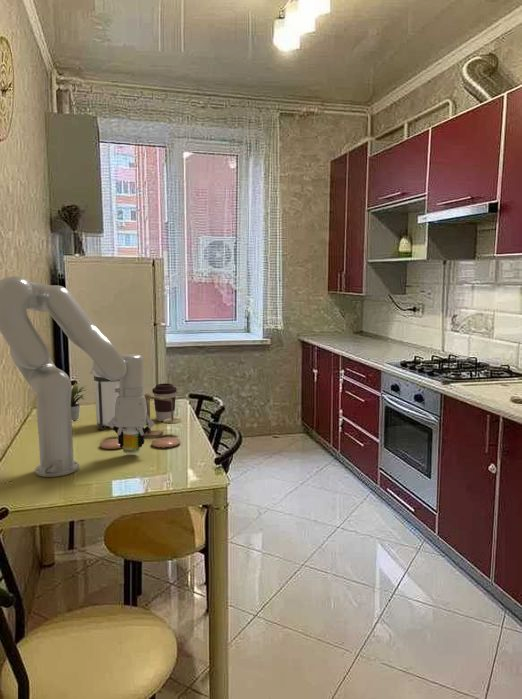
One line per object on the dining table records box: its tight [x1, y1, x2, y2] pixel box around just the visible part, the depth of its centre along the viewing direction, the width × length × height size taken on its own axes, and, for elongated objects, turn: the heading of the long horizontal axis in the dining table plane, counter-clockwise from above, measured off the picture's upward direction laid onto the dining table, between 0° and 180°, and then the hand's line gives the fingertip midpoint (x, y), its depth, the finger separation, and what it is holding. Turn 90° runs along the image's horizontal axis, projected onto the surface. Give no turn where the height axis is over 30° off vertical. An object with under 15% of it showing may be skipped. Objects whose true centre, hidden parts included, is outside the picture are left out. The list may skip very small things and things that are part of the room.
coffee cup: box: [151, 382, 177, 422], centre depth 221 cm, size 10×10×15 cm
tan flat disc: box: [151, 436, 182, 449], centre depth 187 cm, size 10×10×1 cm
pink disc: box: [99, 437, 123, 450], centre depth 186 cm, size 10×10×1 cm
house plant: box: [71, 382, 89, 421], centre depth 221 cm, size 14×14×16 cm
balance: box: [143, 393, 182, 439], centre depth 197 cm, size 24×7×17 cm, turn 93°
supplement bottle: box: [122, 428, 141, 455], centre depth 174 cm, size 5×5×10 cm
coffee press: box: [89, 367, 126, 431], centre depth 211 cm, size 17×16×30 cm
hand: (131, 445), depth 174 cm, fingers closed on supplement bottle, 5 cm apart
